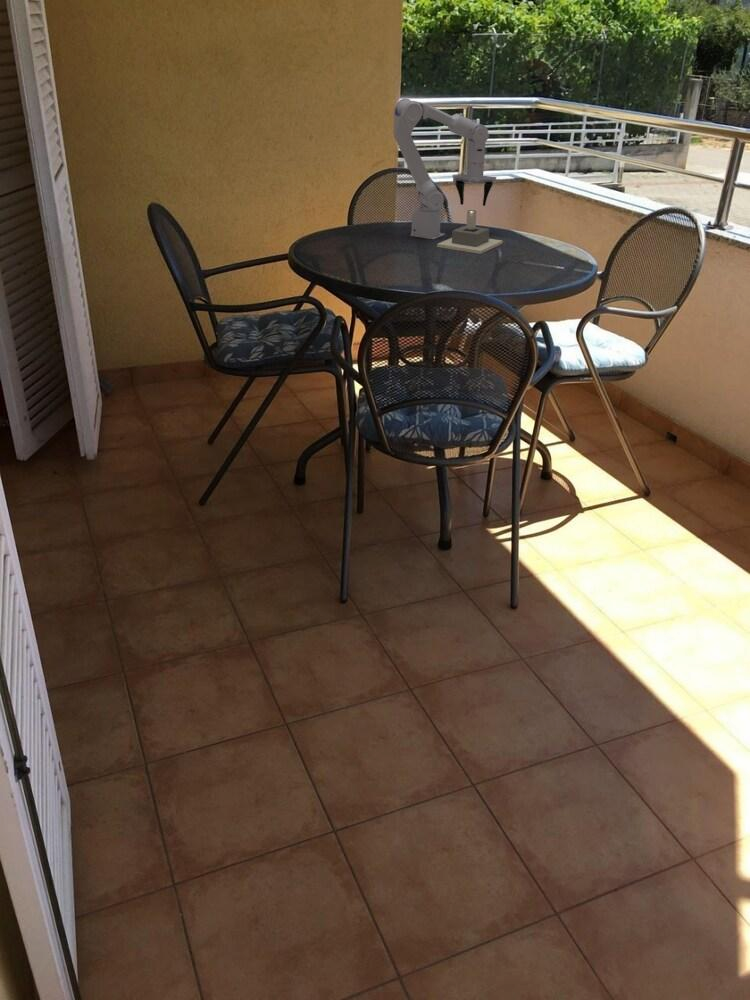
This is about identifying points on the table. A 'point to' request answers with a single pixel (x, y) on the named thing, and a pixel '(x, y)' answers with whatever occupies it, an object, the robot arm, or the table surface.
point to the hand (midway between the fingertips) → (473, 204)
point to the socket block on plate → (470, 240)
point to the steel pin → (471, 220)
